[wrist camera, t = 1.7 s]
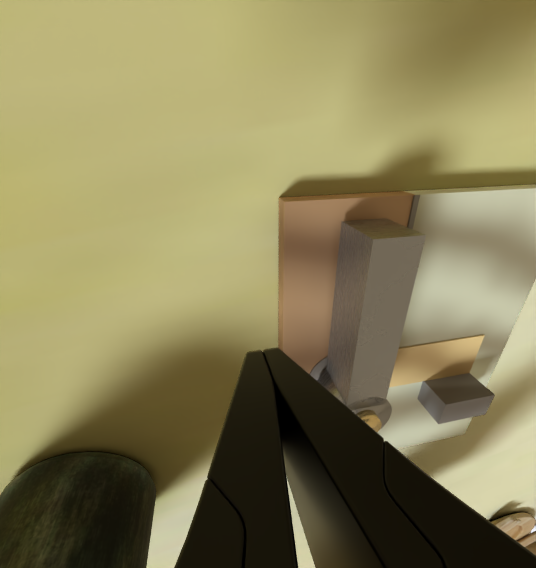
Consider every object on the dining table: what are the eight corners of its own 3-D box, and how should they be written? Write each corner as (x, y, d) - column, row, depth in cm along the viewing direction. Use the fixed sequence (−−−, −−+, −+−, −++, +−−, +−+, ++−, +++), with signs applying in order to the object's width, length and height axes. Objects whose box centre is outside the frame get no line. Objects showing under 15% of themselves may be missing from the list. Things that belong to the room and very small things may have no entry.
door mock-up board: (454, 423, 27) (486, 458, 24) (278, 460, 24) (288, 506, 21) (555, 183, 17) (630, 192, 14) (278, 197, 14) (299, 212, 11)
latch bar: (362, 395, 20) (391, 442, 17) (314, 404, 20) (335, 454, 17) (396, 217, 15) (449, 238, 11) (330, 221, 14) (367, 245, 11)
